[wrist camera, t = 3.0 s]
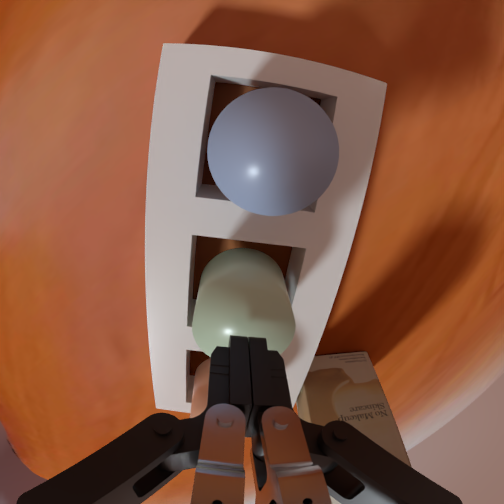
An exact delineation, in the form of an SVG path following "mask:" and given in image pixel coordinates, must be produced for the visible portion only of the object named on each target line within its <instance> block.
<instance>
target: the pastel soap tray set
mask: <svg viewBox="0 0 504 504" xmlns="http://www.w3.org/2000/svg"><path fill="white" fill-rule="evenodd" d="M215 82H220V83H229V84H238V85H245V86H253V87H259V88H268V87H278V88H286V89H290V90H294V91H296V92H299V93H301V94H303V95H305V96H308V97H313V98H317V99H321V103H320V107H321V108H322V109H323V110H324V111H325V113H326V114H327V115H328V116H329V118H330V120H331V122H332V123H333V126H334V128H335V130H336V134H337V137H338V143H339V160H338V166H337V170H336V173H335V175H334V178H333V180H332V182H331V183H330V185H329V187H328V188H327V189H326V191H325V192H324V193H323V194H322V195H321V196H320V197H319V198H318V199H317V200H316V201H315V202H313V203H312V204H311V205H309V206H307V207H306V208H304V209H302V210H299V211H297V212H294V213H291V214H287V215H281V216H266V215H260V214H255V213H252V212H249V211H247V210H245V209H242V208H240V207H239V206H237V205H236V204H234V203H233V202H232V201H230V200H229V199H228V198H227V197H226V196H225V195H224V194H223V193H222V192H221V190H220V189H219V188H218V186H217V185H209V184H202V179H203V170H204V161H205V153H206V145H207V137H208V130H209V122H210V115H211V108H212V101H213V95H214V88H215ZM386 88H387V83H385V82H382V81H379V80H376V79H374V78H371V77H368V76H364V75H361V74H358V73H355V72H352V71H348V70H345V69H341V68H338V67H334V66H330V65H326V64H322V63H318V62H314V61H310V60H305V59H301V58H296V57H291V56H286V55H281V54H275V53H270V52H263V51H257V50H250V49H242V48H234V47H224V46H213V45H198V44H170V43H163V48H162V54H161V59H160V65H159V72H158V78H157V85H156V92H155V99H154V107H153V115H152V124H151V134H150V145H149V157H148V171H147V189H146V215H145V280H146V306H147V323H148V337H149V350H150V360H151V370H152V379H153V388H154V396H155V403H156V408H159V409H165V410H172V411H179V412H187V413H191V404H192V395H193V387H194V378H195V376H193V375H190V350H193V351H202V350H201V349H200V348H199V346H198V345H197V343H196V342H195V339H194V337H193V332H192V322H193V316H194V311H195V305H196V299H193V283H194V268H195V254H196V241H197V235H198V236H207V237H215V238H224V239H232V240H241V241H249V242H258V243H266V244H274V245H283V246H291V247H292V251H291V255H290V260H289V264H288V268H287V273H286V277H285V284H286V288H287V292H288V296H289V299H290V303H291V307H292V310H293V314H294V318H295V324H296V327H295V334H294V337H293V339H292V341H291V343H290V345H289V346H288V347H287V349H286V350H285V351H284V352H283V353H281V354H280V355H281V357H282V358H283V359H284V364H285V371H286V375H287V381H288V386H289V392H290V397H291V403H292V408H293V407H294V404H295V402H296V400H297V397H298V395H299V393H300V390H301V388H302V385H303V383H304V381H305V378H306V376H307V373H308V371H309V368H310V366H311V363H312V361H313V358H314V355H315V353H316V350H317V348H318V345H319V342H320V339H321V337H322V334H323V331H324V329H325V326H326V323H327V320H328V317H329V314H330V312H331V309H332V306H333V303H334V300H335V297H336V294H337V291H338V288H339V285H340V281H341V278H342V275H343V272H344V269H345V266H346V262H347V259H348V256H349V252H350V249H351V245H352V242H353V238H354V235H355V231H356V228H357V224H358V220H359V217H360V213H361V209H362V205H363V201H364V197H365V193H366V189H367V185H368V181H369V176H370V172H371V168H372V163H373V158H374V154H375V149H376V144H377V139H378V134H379V129H380V124H381V118H382V112H383V107H384V101H385V94H386ZM202 352H203V351H202Z"/></svg>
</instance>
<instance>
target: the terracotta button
mask: <svg viewBox="0 0 504 504" xmlns="http://www.w3.org/2000/svg"><path fill="white" fill-rule="evenodd" d="M210 360H211V358H209V359H207V360H205V361H204V362H202V363H201V364H200V365H199V366H198V367H197V369H196V372H195V378H194V387H193V395H192V404H191V413H190V418H193V417H196V416H198V415H200V414H201V413H202V412H203V411H204V410H205V409H206V407H207V398H208V383H209V371H210Z"/></svg>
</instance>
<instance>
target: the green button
mask: <svg viewBox="0 0 504 504" xmlns="http://www.w3.org/2000/svg"><path fill="white" fill-rule="evenodd" d="M295 327H296V324H295V318H294V314H293V310H292V307H291V303H290V299H289V296H288V292H287V288H286V284H285V281H284V277H283V274H282V271H281V269H280V267H279V266H278V264H277V263H276V262H275V261H274V260H273V259H272V258H271V257H270V256H268V255H267V254H265V253H263V252H261V251H258V250H255V249H250V248H235V249H230V250H227V251H224V252H222V253H220V254H218V255H217V256H215V257H214V258H213V259H211V260H210V261H209V263H208V264H207V265H206V267H205V268H204V270H203V272H202V275H201V279H200V285H199V290H198V295H197V300H196V305H195V311H194V316H193V322H192V332H193V337H194V339H195V342H196V343H197V345H198V346H199V348H200V349H201V350H202V351H203V352H204V353H205V354H206V355H208V356H209V357H211V354H212V352H213V351H214V349H215V348H216V346H221V347H228V345H229V338H230V335H235V336H246V337H260V338H266V340H267V348H268V350H275V351H278V352H279V354H281V353H283V352H284V351H285V350H286V349H287V347H288V346H289V345H290V343H291V341H292V339H293V337H294V334H295Z"/></svg>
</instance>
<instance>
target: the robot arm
mask: <svg viewBox="0 0 504 504" xmlns="http://www.w3.org/2000/svg"><path fill="white" fill-rule="evenodd" d="M245 437H251V438H252V447H251V450H250V457H251V464H252V470H253V477H254V483H255V489H256V500H255V504H332V502H331V498H330V496H332V497H333V498H334V499H335V500H337V501H338V502H339V503H341V504H462V502H461V500H460V498H459V497H457V496H456V495H454V494H453V493H451V492H449V491H448V490H446V489H444V488H443V487H441V486H439V485H437V484H436V483H435V482H433V481H431V480H430V479H428V478H427V477H425V476H424V475H422V474H420V473H419V472H417V471H416V470H414V469H413V468H411V467H410V466H408V465H407V464H405V463H404V462H402V461H401V460H399V459H398V458H396V457H395V456H394V455H392V454H391V453H389V452H388V451H386V450H385V449H384V448H382V447H381V446H379V445H378V444H376V443H375V442H374V441H372V440H371V439H369V438H368V437H367V436H365V435H364V434H363V433H361V432H360V431H359V430H357V429H356V428H354V427H353V426H352V425H350V424H349V423H347V422H344V421H340V420H335V421H331V422H329V423H327V424H326V425H325V426H322V425H317V424H313V423H309V422H306V421H304V420H302V419H301V418H300V417H298V415H297V414H296V413H295V412H294V410H293V408H292V403H291V397H290V392H289V386H288V381H287V375H286V371H285V364H284V359H283V358H282V357H281V355H280V354H279V352H278V351H275V350H268V348H267V340H266V338H260V337H246V336H235V335H230V338H229V345H228V347H221V346H216V348H215V349H214V351H213V352H212V354H211V360H210V371H209V383H208V398H207V407H206V409H205V410H204V411H203V412H202V413H201V414H200V415H198V416H196V417H193V418H188V419H182V420H179V419H178V418H176V417H175V416H173V415H170V414H167V413H156V414H153V415H151V416H149V417H147V418H146V419H144V420H143V421H142V422H140V423H139V424H137V425H136V426H134V427H133V428H131V429H130V430H128V431H127V432H125V433H124V434H122V435H121V436H119V437H118V438H116V439H115V440H113V441H112V442H110V443H109V444H107V445H105V446H104V447H102V448H101V449H99V450H98V451H96V452H94V453H93V454H91V455H90V456H88V457H86V458H85V459H83V460H82V461H80V462H78V463H77V464H75V465H73V466H72V467H70V468H68V469H66V470H65V471H63V472H61V473H60V474H58V475H56V476H54V477H53V478H51V479H49V480H47V481H46V482H44V483H42V484H40V485H38V486H36V487H35V488H33V489H31V490H29V491H27V492H25V493H23V494H22V495H21V496H20V497H19V498H18V500H17V504H141V503H142V502H143V501H145V500H146V499H147V498H149V497H150V496H151V495H153V494H154V493H155V492H157V491H158V490H159V489H160V488H162V487H163V486H164V485H165V484H167V483H168V482H169V481H170V480H172V479H173V478H174V477H175V476H177V475H178V474H179V473H180V472H181V471H182V470H185V469H191V468H196V471H195V478H194V484H193V491H192V498H191V504H244V488H245V470H244V468H243V462H244V442H245Z"/></svg>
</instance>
